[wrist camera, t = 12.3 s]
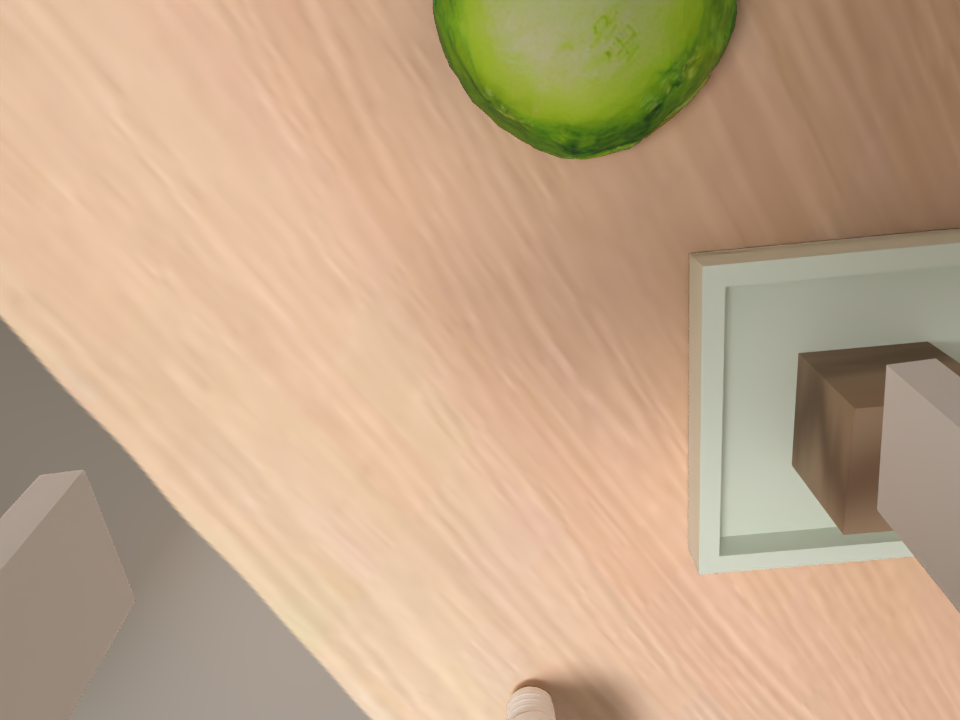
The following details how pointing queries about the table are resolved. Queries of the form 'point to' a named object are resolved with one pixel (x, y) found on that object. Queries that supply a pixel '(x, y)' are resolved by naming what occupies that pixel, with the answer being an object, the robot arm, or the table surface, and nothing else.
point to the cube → (847, 427)
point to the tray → (793, 381)
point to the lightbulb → (530, 705)
